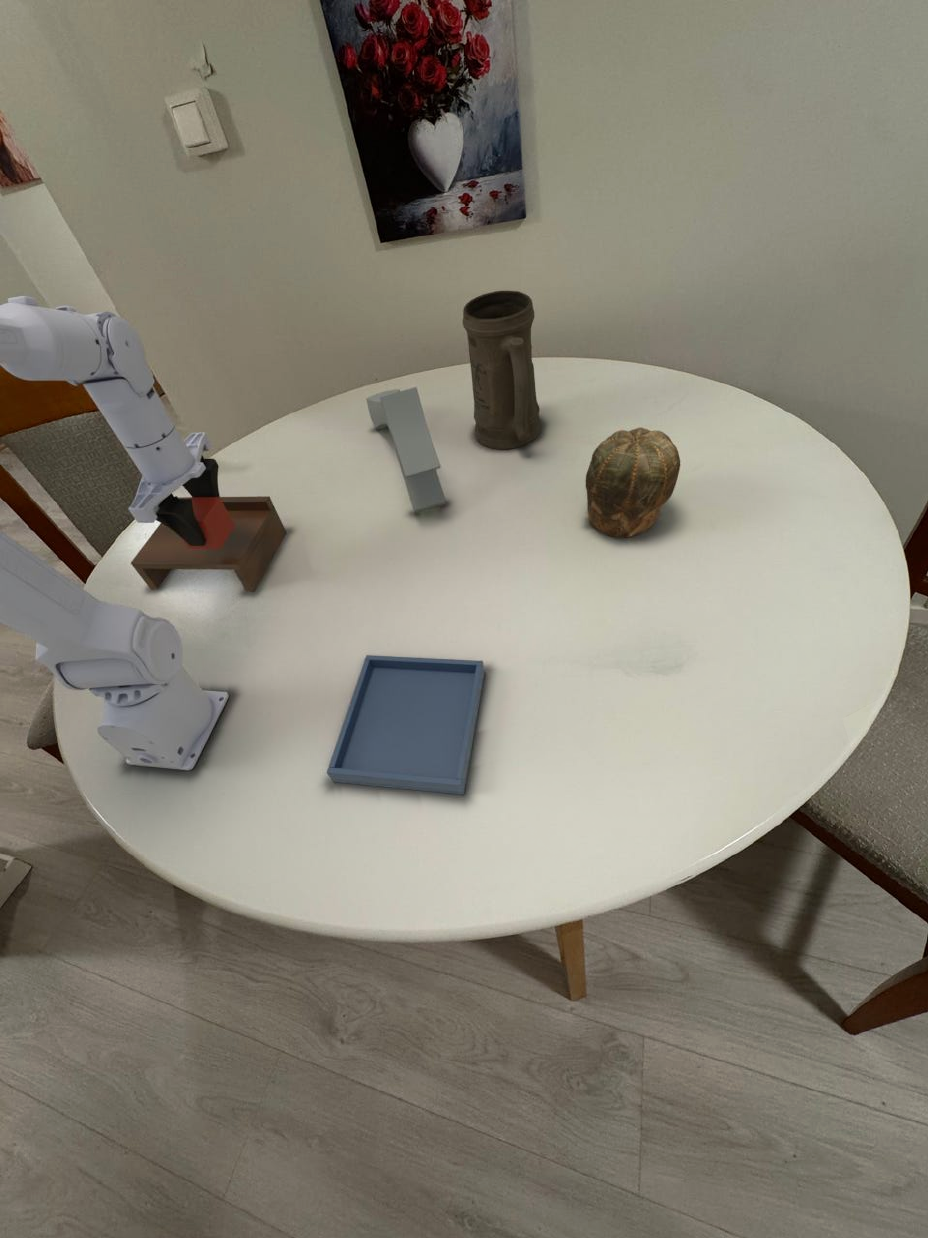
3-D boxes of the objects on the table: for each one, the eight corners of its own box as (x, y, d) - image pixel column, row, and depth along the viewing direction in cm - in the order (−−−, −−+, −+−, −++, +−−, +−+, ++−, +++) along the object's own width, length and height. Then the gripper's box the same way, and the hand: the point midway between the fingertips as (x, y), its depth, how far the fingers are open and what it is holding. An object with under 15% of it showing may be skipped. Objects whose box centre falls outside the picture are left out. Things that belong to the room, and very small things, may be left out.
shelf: (254, 592, 77) (233, 555, 72) (150, 589, 81) (123, 554, 76) (286, 532, 85) (269, 496, 80) (190, 531, 88) (168, 497, 83)
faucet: (393, 492, 105) (414, 524, 77) (364, 396, 98) (375, 394, 71) (426, 483, 105) (458, 511, 78) (399, 387, 99) (424, 380, 71)
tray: (463, 795, 54) (460, 785, 53) (332, 782, 57) (326, 772, 56) (484, 671, 63) (482, 660, 62) (370, 665, 66) (366, 654, 65)
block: (220, 549, 71) (203, 520, 68) (188, 548, 72) (169, 520, 69) (235, 525, 74) (219, 496, 71) (204, 525, 75) (187, 496, 72)
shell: (672, 547, 72) (686, 464, 63) (582, 544, 75) (583, 464, 66) (670, 493, 79) (683, 411, 70) (587, 492, 81) (589, 413, 72)
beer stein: (462, 425, 97) (446, 301, 82) (519, 404, 99) (514, 279, 84) (505, 475, 88) (497, 346, 73) (566, 450, 90) (571, 320, 74)
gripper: (145, 473, 57) (209, 572, 67) (211, 396, 66) (259, 493, 76) (85, 474, 58) (156, 570, 69) (157, 399, 68) (211, 494, 78)
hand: (207, 530), depth 72 cm, fingers closed on block, 4 cm apart
